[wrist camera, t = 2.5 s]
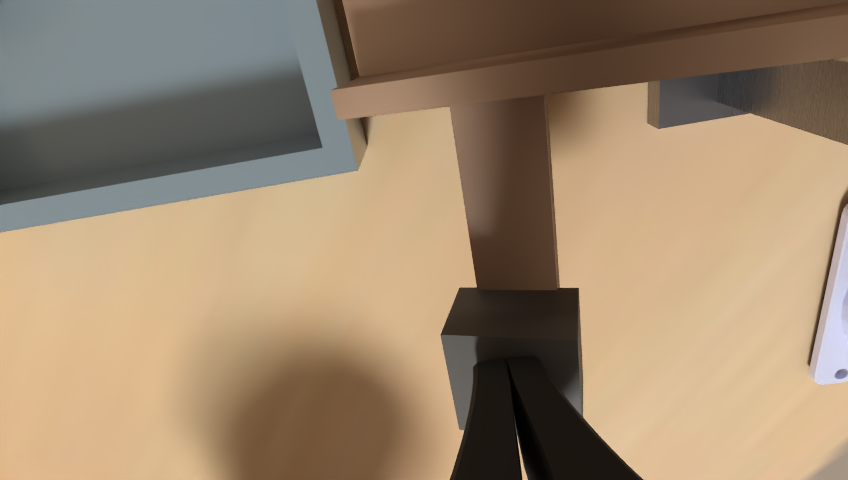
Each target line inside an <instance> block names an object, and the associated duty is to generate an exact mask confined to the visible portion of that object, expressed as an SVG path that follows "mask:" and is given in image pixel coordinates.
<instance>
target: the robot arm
mask: <svg viewBox="0 0 848 480" xmlns="http://www.w3.org/2000/svg"><path fill="white" fill-rule="evenodd" d="M507 363H508V371H509V376H508V373H507V369H506V366H505V362H504V359H498V360H491V361H484V362H477V363H476V364H475V365H474V366H473V387H472V395H471V401H470V407H469V412H468V417H467V421H466V426H465V430H464V434H463V438H462V442H461V445H460V449H459V452H458V455H457V459H456V462H455V465H454V469H453V472H452V475H451V478H450V480H522V472H521V464H520V456H519V449H518V441H517V434H518V439H519V444H520V449H521V454H522V458H523V463H524V468H525V471H526V474H527V478H528V480H643V479H642V478H641V477H640V476H639V475H638V474H637V473H636V472H634V471H633V470H632V469H631V468H630V467H629V466H628V465H627V464H626V463H625V462H624V461H623V460H622V459H621V458H620V457H619V456H618V455H617V454H616V453H615V452H614V451H613V450H612V449H611V448H610V447H609V446H608V444H607V443H606V442H605V441H604V440H603V439H602V438H601V437H600V436H599V435H598V434H597V433H596V432H595V431H594V429H593V428H592V427H591V426H590V425H589V424H588V423H587V422H586V420H585V419H584V418H583V417H582V416H581V415H580V413H579V412H578V411H577V410H576V409H575V408H574V406H573V405H572V404H571V403H570V401H569V400H568V399H567V398H566V396H565V395H564V394H563V393H562V391H561V390H560V389H559V387H558V386H557V385H556V383H555V382H554V381H553V379H552V378H551V376H550V375H549V373H548V372H547V371H546V369H545V367H544V366H543V364H542V363H541V361H540V359H538V358H537V357H535V356H519V357H512V358H507ZM809 376H810V377H811V378H812V379H813V380H814V381H815V382H816V383H818V384H833V383H841V382H848V204H847V205H846V206H845V207H844V210H843V212H842V215H841V220H840V225H839V230H838V235H837V239H836V244H835V249H834V254H833V258H832V263H831V268H830V273H829V278H828V282H827V287H826V292H825V297H824V301H823V306H822V311H821V316H820V321H819V325H818V330H817V335H816V340H815V345H814V349H813V354H812V359H811V364H810V368H809ZM509 379H510V380H509ZM510 386H511V387H510ZM511 394H512V395H511ZM512 402H513V403H512ZM514 417H515V418H514ZM515 424H516V426H515ZM516 429H517V433H516Z"/></svg>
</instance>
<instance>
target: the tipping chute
mask: <svg viewBox="0 0 848 480" xmlns="http://www.w3.org/2000/svg"><path fill="white" fill-rule="evenodd" d="M342 1H343V6H344V10H345V15H346V19H347V24H348V28H349V33H350V37H351V42H352V46H353V50H354V55H355V59H356V64H357V68H358V73H359V78H356V79H354V80H352V81H350V82H347V83H345V84H343V85H341V86H339V87H336V88H334V89H332V90H330V92H331V96H332V100H333V104H334V108H335V112H336V116H337V120H344V119H352V118H360V117H368V116H376V115H384V114H392V113H400V112H408V111H417V110H425V109H433V108H441V107H449V106H450V112H451V119H452V125H453V132H454V138H455V145H456V152H457V158H458V165H459V171H460V178H461V185H462V191H463V198H464V204H465V211H466V218H467V224H468V231H469V237H470V244H471V251H472V257H473V264H474V270H475V277H476V284H477V288H459V290H458V293H457V295H456V298H455V300H454V303H453V305H452V308H451V310H450V313H449V315H448V318H447V320H446V323H445V325H444V328H443V330H442V333H441V339H442V344H443V349H444V354H445V359H446V364H447V369H448V374H449V379H450V384H451V390H452V395H453V400H454V405H455V410H456V415H457V420H458V425H459V429H461V430H465V426H466V421H467V417H468V412H469V407H470V401H471V395H472V387H473V366H474V365H475V364H476V363H477V362H484V361H491V360H498V359H504V362H505V366H506V369H507V373H508V376H509V371H508V363H507V358H512V357H519V356H535V357H537V358H538V359H540V361H541V363H542V364H543V366H544V367H545V369H546V371H547V372H548V373H549V375H550V376H551V378H552V379H553V381H554V382H555V383H556V385H557V386H558V387H559V389H560V390H561V391H562V393H563V394H564V395H565V396H566V398H567V399H568V400H569V401H570V403H571V404H572V405H573V406H574V408H575V409H576V410H577V411H578V412H579V413H580V415H581V416H582V417H583V370H582V349H581V327H580V306H579V288H560V284H559V269H558V254H557V239H556V224H555V209H554V194H553V179H552V164H551V149H550V133H549V118H548V103H547V94H554V93H562V92H571V91H579V90H587V89H595V88H603V87H611V86H619V85H627V84H635V83H643V82H652V81H660V80H668V79H676V78H684V77H692V76H700V75H708V74H716V73H724V72H733V71H741V70H749V69H757V68H765V67H773V66H781V65H789V64H797V63H806V62H814V61H822V60H830V59H838V58H846V57H848V0H342ZM509 380H510V379H509ZM510 387H511V386H510ZM511 395H512V394H511ZM512 403H513V402H512ZM514 418H515V417H514ZM515 426H516V424H515ZM516 433H517V429H516ZM517 435H518V434H517Z"/></svg>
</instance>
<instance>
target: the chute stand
mask: <svg viewBox="0 0 848 480" xmlns="http://www.w3.org/2000/svg"><path fill="white" fill-rule="evenodd" d="M748 113H751V114H755V115H758V116H761V117H764V118H767V119H770V120H773V121H776V122H779V123H782V124H785V125H788V126H791V127H794V128H798V129H801V130H804V131H807V132H810V133H813V134H816V135H819V136H822V137H825V138H828V139H831V140H834V141H838V142H841V143H844V144H847V145H848V57H846V58H838V59H830V60H822V61H814V62H806V63H797V64H789V65H781V66H773V67H765V68H757V69H749V70H741V71H733V72H724V73H716V74H708V75H700V76H692V77H684V78H676V79H668V80H660V81H652V82H648V124H650V125H652V126H654V127H656V128H658V129H661V128H667V127H672V126H678V125H684V124H690V123H696V122H702V121H708V120H713V119H719V118H725V117H731V116H737V115H743V114H748Z"/></svg>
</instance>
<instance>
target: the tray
mask: <svg viewBox="0 0 848 480" xmlns="http://www.w3.org/2000/svg"><path fill="white" fill-rule="evenodd" d="M350 81H352V79H351V75H350V71H349V66H348V62H347V58H346V53H345V49H344V45H343V40H342V36H341V32H340V28H339V23H338V19H337V15H336V10H335V6H334V2H333V0H0V232H5V231H11V230H17V229H23V228H29V227H34V226H40V225H46V224H52V223H57V222H63V221H69V220H75V219H81V218H86V217H92V216H98V215H104V214H110V213H115V212H121V211H127V210H133V209H139V208H144V207H150V206H156V205H162V204H167V203H173V202H179V201H185V200H191V199H196V198H202V197H208V196H214V195H220V194H225V193H231V192H237V191H243V190H249V189H254V188H260V187H266V186H272V185H277V184H283V183H289V182H295V181H301V180H306V179H312V178H318V177H324V176H330V175H335V174H341V173H347V172H353V171H358V169H359V167H360V164H361V162H362V159H363V157H364V154H365V152H366V149H367V144H366V140H365V136H364V131H363V127H362V123H361V118H352V119H344V120H337V116H336V112H335V108H334V104H333V100H332V96H331V92H330V90H332V89H334V88H336V87H339V86H341V85H343V84H345V83H347V82H350Z"/></svg>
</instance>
